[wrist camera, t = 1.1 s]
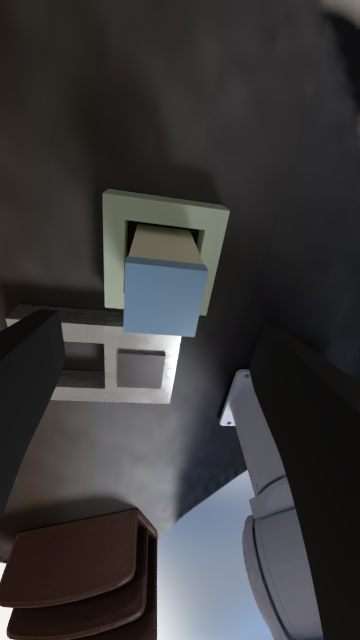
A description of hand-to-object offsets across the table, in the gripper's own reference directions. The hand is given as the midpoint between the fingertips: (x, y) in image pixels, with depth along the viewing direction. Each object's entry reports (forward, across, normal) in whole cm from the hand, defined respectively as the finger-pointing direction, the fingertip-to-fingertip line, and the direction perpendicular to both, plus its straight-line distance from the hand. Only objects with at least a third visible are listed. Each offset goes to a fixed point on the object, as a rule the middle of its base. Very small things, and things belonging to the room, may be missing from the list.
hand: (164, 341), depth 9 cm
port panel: (+10, +4, +9) cm, 14 cm away
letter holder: (+10, +7, +47) cm, 49 cm away
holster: (+10, 0, 0) cm, 10 cm away
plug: (+10, 0, 0) cm, 10 cm away
